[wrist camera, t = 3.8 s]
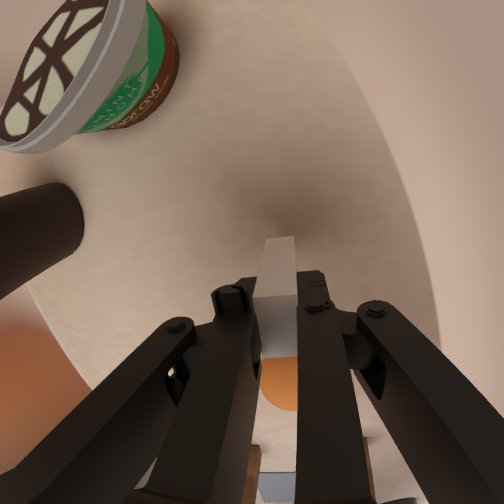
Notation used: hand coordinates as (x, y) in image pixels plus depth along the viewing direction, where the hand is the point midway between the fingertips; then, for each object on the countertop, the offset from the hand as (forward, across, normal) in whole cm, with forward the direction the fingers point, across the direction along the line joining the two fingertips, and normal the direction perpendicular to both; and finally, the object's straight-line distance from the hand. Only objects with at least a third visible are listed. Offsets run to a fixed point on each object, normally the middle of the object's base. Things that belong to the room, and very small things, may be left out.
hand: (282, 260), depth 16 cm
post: (+4, +6, +26) cm, 27 cm away
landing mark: (+3, 0, +40) cm, 40 cm away
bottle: (+4, +19, -4) cm, 20 cm away
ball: (+1, 0, +10) cm, 10 cm away
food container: (+4, +8, -12) cm, 15 cm away
